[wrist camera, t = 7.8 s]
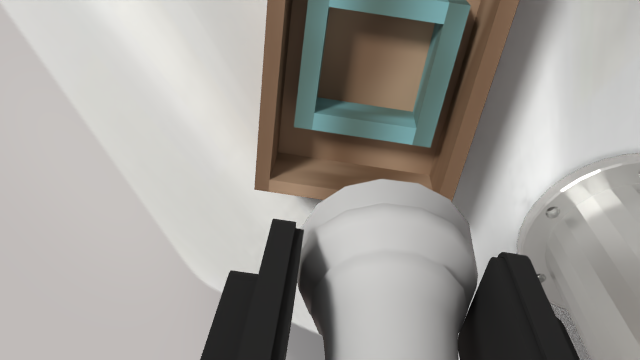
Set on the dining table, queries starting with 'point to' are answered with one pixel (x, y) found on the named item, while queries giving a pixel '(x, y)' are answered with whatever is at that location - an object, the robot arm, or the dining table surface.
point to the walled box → (374, 91)
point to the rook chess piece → (387, 272)
